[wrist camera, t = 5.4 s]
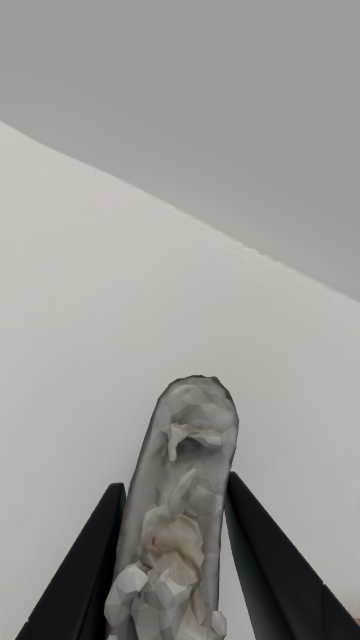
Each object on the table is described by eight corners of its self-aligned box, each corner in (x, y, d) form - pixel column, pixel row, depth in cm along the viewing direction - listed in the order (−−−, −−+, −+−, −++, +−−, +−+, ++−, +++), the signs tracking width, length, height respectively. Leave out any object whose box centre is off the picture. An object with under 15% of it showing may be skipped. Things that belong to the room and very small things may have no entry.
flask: (194, 627, 12) (272, 1374, 2) (128, 618, 12) (-59, 1297, 2) (207, 410, 16) (256, 351, 6) (157, 404, 16) (130, 337, 6)
